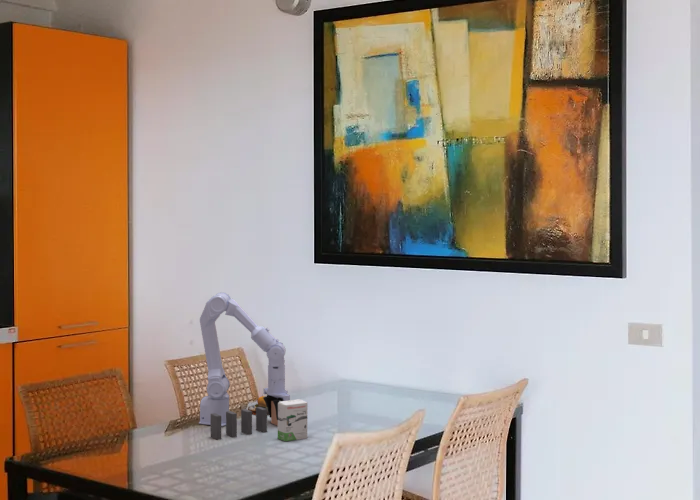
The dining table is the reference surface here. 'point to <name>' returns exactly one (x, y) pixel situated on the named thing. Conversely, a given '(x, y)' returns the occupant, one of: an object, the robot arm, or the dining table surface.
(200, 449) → the dining table surface
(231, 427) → the tile
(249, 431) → the tile
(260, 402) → the burger
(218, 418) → the tile
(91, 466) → the dining table surface
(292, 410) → the ink box
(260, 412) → the tile
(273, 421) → the tile
